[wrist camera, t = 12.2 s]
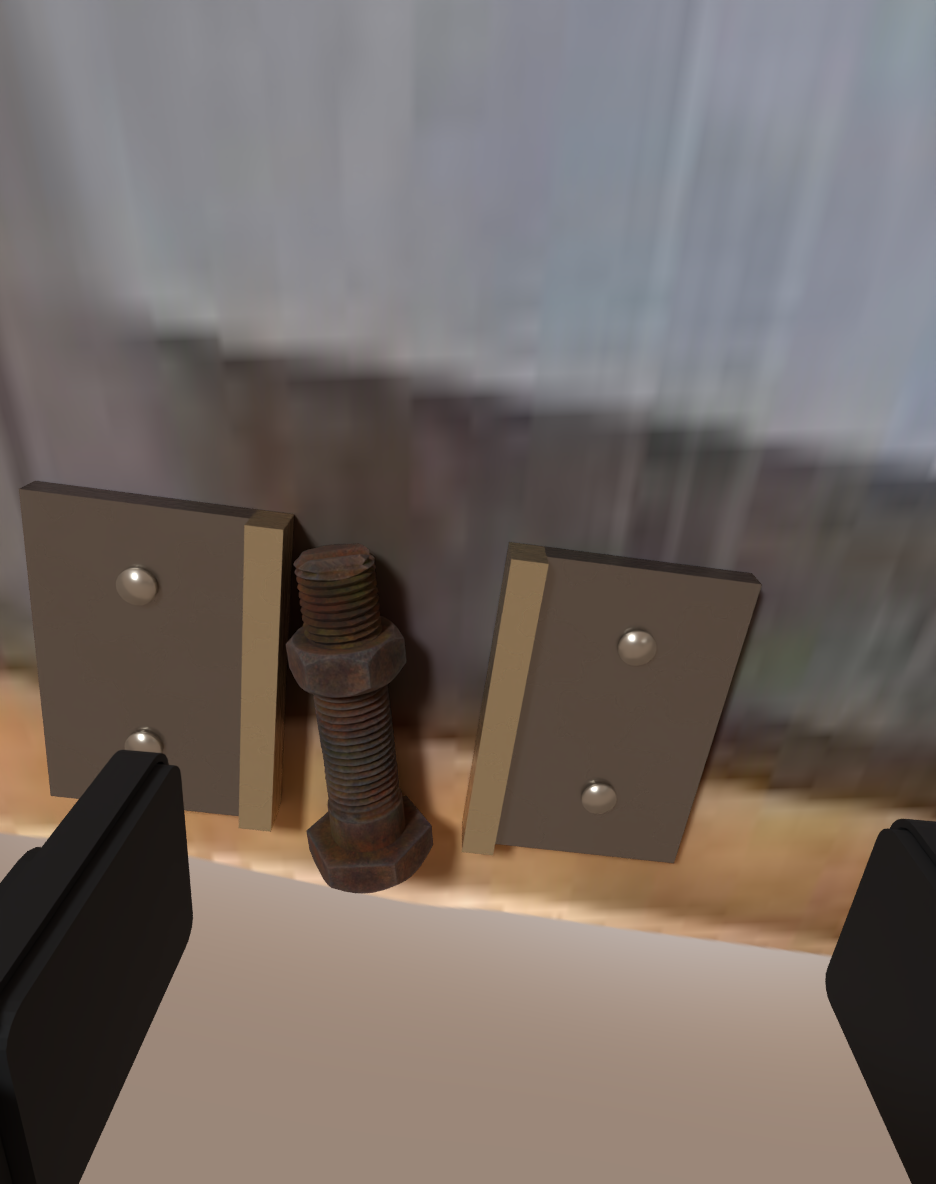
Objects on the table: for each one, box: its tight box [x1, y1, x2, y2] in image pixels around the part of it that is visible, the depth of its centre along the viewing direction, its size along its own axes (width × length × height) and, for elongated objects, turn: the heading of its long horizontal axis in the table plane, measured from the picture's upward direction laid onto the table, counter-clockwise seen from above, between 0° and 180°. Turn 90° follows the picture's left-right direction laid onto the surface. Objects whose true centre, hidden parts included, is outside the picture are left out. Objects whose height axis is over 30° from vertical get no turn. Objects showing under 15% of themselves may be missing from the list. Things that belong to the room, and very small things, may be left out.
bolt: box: [286, 543, 433, 893], centre depth 33 cm, size 6×5×15 cm
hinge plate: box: [19, 481, 762, 863], centre depth 34 cm, size 30×15×2 cm, turn 82°
